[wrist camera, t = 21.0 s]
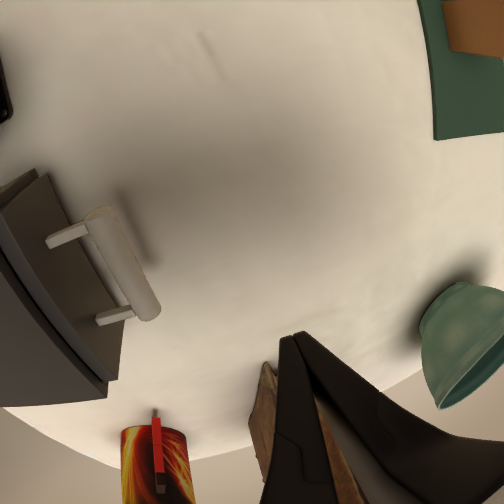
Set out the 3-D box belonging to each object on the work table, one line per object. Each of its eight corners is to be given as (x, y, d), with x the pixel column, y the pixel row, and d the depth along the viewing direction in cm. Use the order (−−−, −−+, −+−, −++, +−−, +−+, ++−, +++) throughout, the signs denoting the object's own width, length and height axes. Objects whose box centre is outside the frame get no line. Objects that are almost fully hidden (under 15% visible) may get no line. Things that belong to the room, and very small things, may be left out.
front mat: (390, -79, 8) (393, -80, 8) (477, -42, 9) (480, -43, 9) (433, 139, 20) (436, 141, 19) (503, 131, 20) (505, 132, 20)
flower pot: (471, 318, 37) (508, 363, 28) (392, 368, 37) (427, 425, 28) (492, 238, 28) (549, 288, 19) (398, 294, 28) (458, 370, 19)
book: (277, 425, 39) (326, 570, 18) (230, 429, 36) (272, 586, 16) (322, 356, 31) (414, 557, 10) (261, 359, 29) (342, 595, 8)
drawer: (106, 144, 15) (73, 173, 10) (176, 304, 22) (179, 366, 17) (-59, 241, 14) (-94, 283, 9) (15, 347, 20) (-1, 395, 16)
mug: (158, 407, 30) (166, 501, 20) (195, 445, 38) (207, 514, 28) (91, 415, 29) (88, 499, 19) (139, 451, 37) (144, 517, 27)
